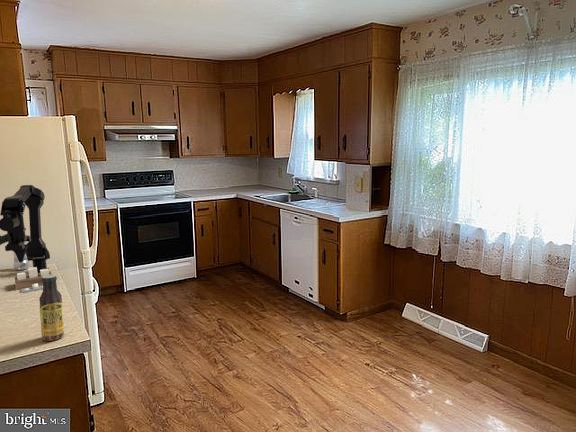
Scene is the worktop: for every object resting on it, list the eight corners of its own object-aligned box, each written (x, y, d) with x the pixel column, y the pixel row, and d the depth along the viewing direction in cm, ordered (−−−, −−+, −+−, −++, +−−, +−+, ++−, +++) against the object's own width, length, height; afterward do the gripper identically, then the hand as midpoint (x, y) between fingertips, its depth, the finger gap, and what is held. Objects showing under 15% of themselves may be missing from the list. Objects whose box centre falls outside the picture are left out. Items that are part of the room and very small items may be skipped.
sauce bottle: (43, 344, 130) (36, 280, 127) (41, 337, 135) (33, 276, 132) (67, 338, 134) (60, 276, 131) (64, 331, 139) (57, 272, 136)
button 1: (18, 284, 188) (16, 273, 187) (26, 283, 190) (25, 272, 189) (18, 286, 185) (16, 275, 185) (27, 284, 187) (25, 273, 186)
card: (21, 290, 182) (20, 285, 182) (48, 285, 187) (47, 280, 187) (21, 293, 178) (21, 287, 178) (49, 288, 184) (48, 283, 183)
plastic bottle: (24, 271, 211) (19, 231, 208) (11, 271, 211) (5, 231, 208) (32, 267, 218) (27, 228, 215) (19, 267, 218) (14, 229, 215)
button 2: (41, 280, 193) (40, 269, 192) (49, 279, 194) (48, 268, 194) (41, 282, 190) (40, 271, 189) (50, 281, 192) (48, 270, 191)
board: (15, 284, 190) (14, 276, 190) (51, 278, 198) (50, 271, 197) (16, 290, 182) (15, 282, 182) (53, 284, 190) (52, 276, 189)
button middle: (29, 279, 190) (28, 268, 189) (37, 277, 192) (36, 267, 191) (29, 280, 187) (28, 269, 187) (38, 279, 189) (36, 268, 188)
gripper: (0, 225, 190) (5, 259, 193) (-12, 232, 173) (-7, 270, 176) (29, 222, 194) (33, 256, 197) (19, 230, 177) (24, 266, 180)
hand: (21, 262), depth 187 cm, fingers closed
